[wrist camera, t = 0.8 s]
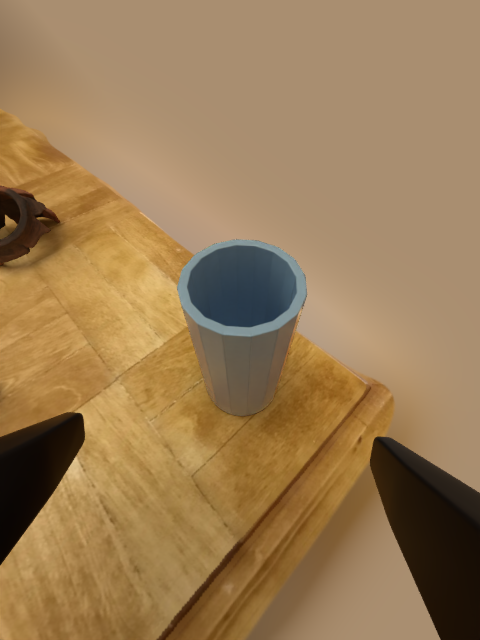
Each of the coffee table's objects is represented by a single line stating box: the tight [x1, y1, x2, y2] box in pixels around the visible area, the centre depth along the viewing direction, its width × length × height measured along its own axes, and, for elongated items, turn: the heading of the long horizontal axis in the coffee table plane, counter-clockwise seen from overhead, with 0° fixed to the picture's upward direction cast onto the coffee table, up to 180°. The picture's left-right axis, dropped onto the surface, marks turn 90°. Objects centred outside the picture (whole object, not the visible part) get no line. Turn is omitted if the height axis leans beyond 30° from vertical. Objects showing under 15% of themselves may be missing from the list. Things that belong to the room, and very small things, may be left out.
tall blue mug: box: [177, 240, 307, 416], centre depth 20 cm, size 9×6×13 cm
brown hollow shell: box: [0, 186, 60, 265], centre depth 33 cm, size 12×10×8 cm
